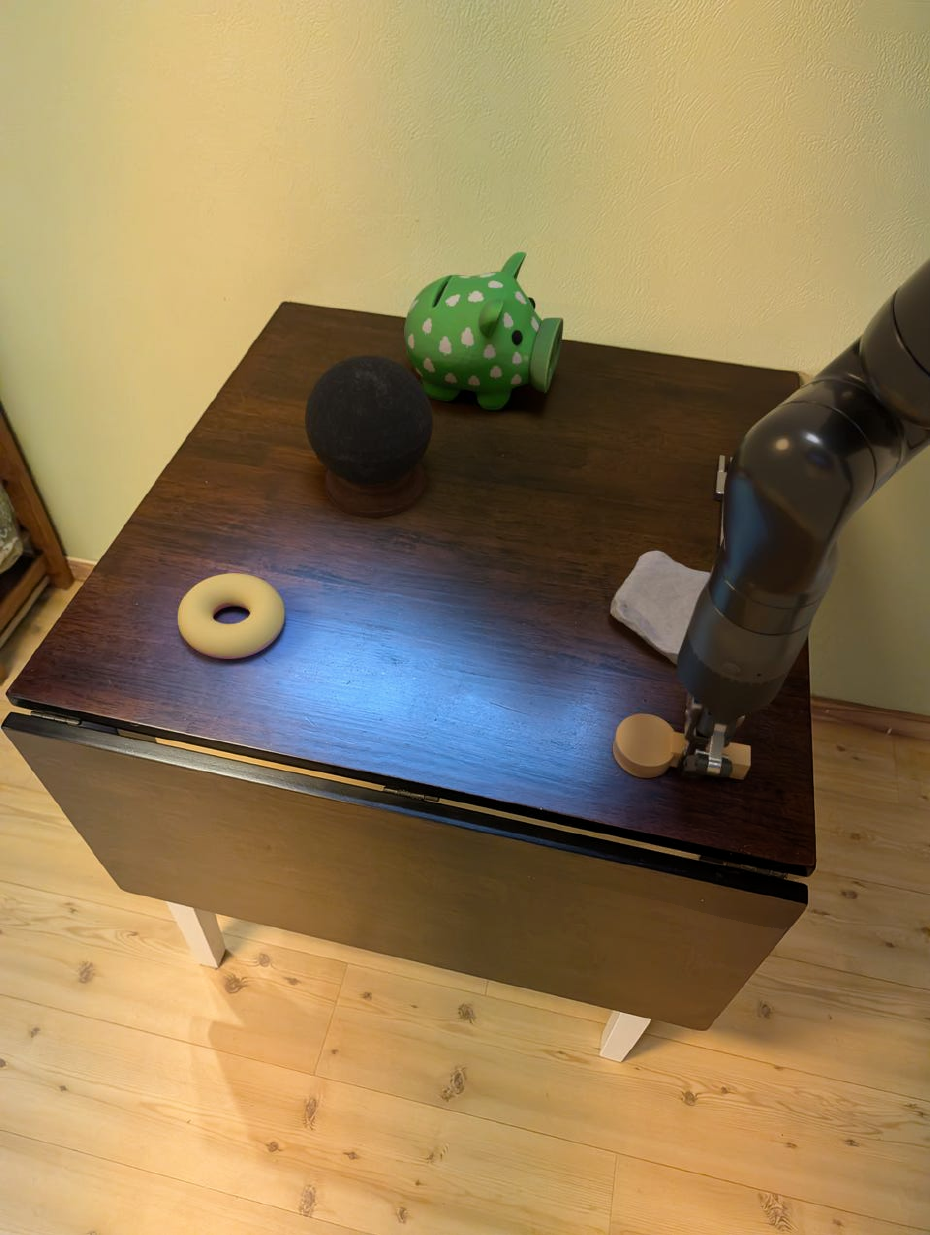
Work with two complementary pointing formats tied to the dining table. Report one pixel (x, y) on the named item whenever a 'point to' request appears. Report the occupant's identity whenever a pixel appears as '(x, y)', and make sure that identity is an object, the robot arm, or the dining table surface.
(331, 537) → the dining table surface
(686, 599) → the stone block
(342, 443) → the black ball on stand
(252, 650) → the donut
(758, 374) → the dining table surface
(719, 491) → the fork
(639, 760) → the wooden round paddle
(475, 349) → the piggy bank
